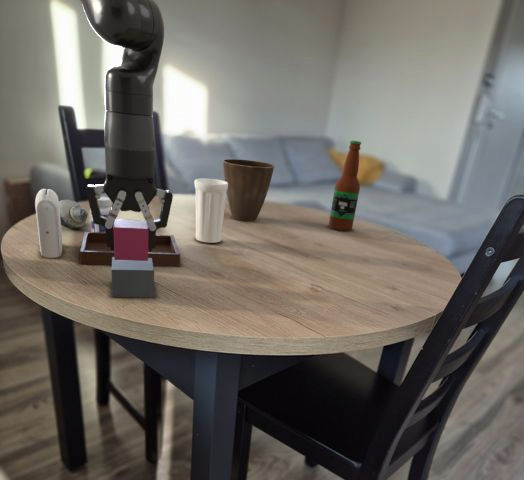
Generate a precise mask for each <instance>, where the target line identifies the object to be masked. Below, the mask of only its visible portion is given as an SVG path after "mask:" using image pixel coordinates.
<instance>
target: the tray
mask: <svg viewBox="0 0 524 480" xmlns="http://www.w3.org/2000/svg"><path fill="white" fill-rule="evenodd" d="M112 257H114V251H111V248H110V247H107V245H106V233H103V232H92V231H84V233H83V237H82V241H81V245H80V249H79V260H80V262H79V263H80V265H99V266H101V265H104V266H105V265H106V266H112ZM148 258H152V262H153V267H180V266H181V253H180V250H179V247H178V245H177V241H176V238H175V235H174V234H156V246H155V249H152V252H148Z"/></svg>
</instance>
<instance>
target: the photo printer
mask: <svg viewBox="0 0 524 480" xmlns="http://www.w3.org/2000/svg"><path fill="white" fill-rule="evenodd" d="M59 201H60V200H59V196H58V194H57V193H56V192H55V191H54V190H53V189H51V188H48V189H47V188H41V189H40V190H38V192H37V193H36V196H35V201H34V206H35V215H36V224H37V225H36V226H37V233H38V243H39V251H40V254H41V256H42V257H44V258H48V259H56V258H59V257H61V256H62V253H63V234H62V232H63V231H62V225H61V220H60V210H59Z"/></svg>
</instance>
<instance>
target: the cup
mask: <svg viewBox="0 0 524 480" xmlns="http://www.w3.org/2000/svg"><path fill="white" fill-rule="evenodd" d="M193 183H194V188H195V239H196V240H197V241H199V242H203V243H208V244H210V243H213V244H215V243H219V242H221V241H222V233H223V224H224V215H225V207H226V199H227V193H226V191H227V189H228V182H226V181H225V180H222V179H217V178H207V177H206V178H205V177H203V178H202V177H201V178H195V179H194V182H193Z"/></svg>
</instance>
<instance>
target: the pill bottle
mask: <svg viewBox="0 0 524 480" xmlns="http://www.w3.org/2000/svg"><path fill="white" fill-rule="evenodd" d="M98 204H99V208H100V212H101V216H104V217H106V218H107V216H108V213H109V211H110V208H111V206H112V201H111V200H110V198H109V197H108V196H101V198H100V199H98ZM89 210H90V212H89V213H90V227H91V232H103V233H106V230H105V227H104V226H102V225H99V224H98V225H97V224H95V223H94V222H93V218H92V213H91V209H89ZM113 226H114V224H113Z"/></svg>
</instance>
